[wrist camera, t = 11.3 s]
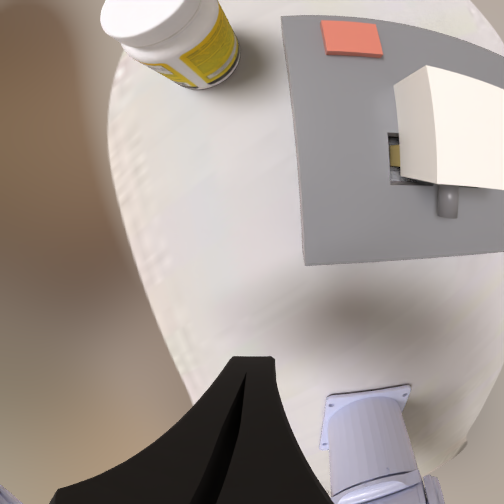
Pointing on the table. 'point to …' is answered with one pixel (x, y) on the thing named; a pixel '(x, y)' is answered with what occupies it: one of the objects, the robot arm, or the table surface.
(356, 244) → the socket
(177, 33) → the supplement bottle
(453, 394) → the table surface
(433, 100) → the plug
